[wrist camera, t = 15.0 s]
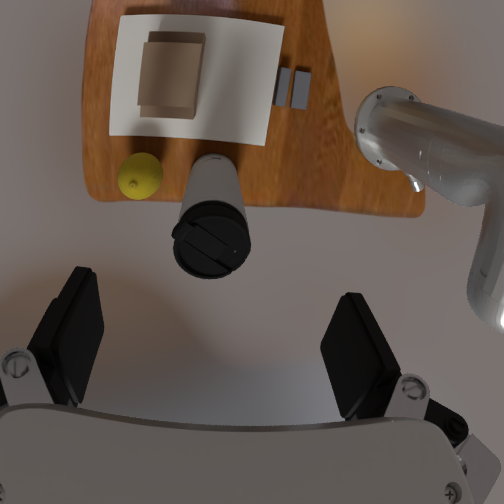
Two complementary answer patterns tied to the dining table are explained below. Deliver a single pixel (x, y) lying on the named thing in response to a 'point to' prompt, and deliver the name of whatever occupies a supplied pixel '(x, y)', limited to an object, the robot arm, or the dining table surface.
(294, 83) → the dark grey block
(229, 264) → the travel mug
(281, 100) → the dark grey block
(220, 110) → the board
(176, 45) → the block
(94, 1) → the dining table surface
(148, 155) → the lemon
